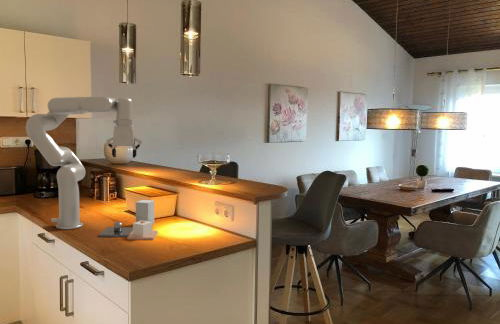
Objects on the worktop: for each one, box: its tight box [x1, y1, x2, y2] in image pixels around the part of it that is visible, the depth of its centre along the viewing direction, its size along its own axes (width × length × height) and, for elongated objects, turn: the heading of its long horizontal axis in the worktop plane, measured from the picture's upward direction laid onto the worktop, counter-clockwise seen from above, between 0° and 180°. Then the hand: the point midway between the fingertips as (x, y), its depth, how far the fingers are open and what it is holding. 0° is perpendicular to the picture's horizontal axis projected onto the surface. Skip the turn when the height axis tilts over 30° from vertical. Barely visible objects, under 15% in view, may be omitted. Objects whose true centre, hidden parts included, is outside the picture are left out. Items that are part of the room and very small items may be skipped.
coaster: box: [126, 230, 158, 241], centre depth 199 cm, size 12×12×1 cm
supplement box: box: [135, 199, 155, 225], centre depth 220 cm, size 7×7×13 cm
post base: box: [98, 221, 133, 238], centre depth 203 cm, size 14×14×5 cm
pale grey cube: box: [132, 221, 153, 236], centre depth 199 cm, size 6×6×6 cm
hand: (124, 157), depth 209 cm, fingers open, 9 cm apart
